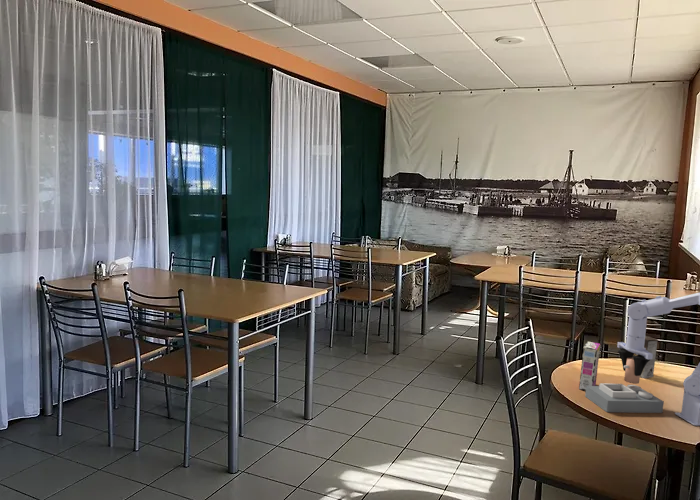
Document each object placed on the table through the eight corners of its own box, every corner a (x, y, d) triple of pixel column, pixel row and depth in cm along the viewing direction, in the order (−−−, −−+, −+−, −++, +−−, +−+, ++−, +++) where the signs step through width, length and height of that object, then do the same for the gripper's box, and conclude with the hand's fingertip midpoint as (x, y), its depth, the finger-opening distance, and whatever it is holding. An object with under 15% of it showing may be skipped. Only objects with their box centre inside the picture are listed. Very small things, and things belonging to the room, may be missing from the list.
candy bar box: (593, 392, 202) (597, 349, 200) (578, 389, 204) (582, 347, 203) (596, 384, 211) (600, 343, 210) (582, 381, 214) (586, 340, 212)
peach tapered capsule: (642, 383, 193) (645, 361, 192) (627, 384, 191) (630, 362, 190) (631, 378, 198) (634, 357, 197) (616, 379, 196) (619, 357, 195)
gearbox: (662, 412, 185) (664, 395, 185) (606, 412, 184) (608, 394, 183) (637, 397, 199) (639, 381, 199) (585, 396, 197) (586, 380, 197)
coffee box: (623, 371, 229) (627, 334, 228) (634, 370, 232) (638, 333, 230) (643, 378, 221) (647, 339, 219) (654, 377, 224) (658, 338, 222)
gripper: (661, 341, 187) (657, 379, 188) (630, 330, 201) (626, 366, 202) (644, 341, 185) (640, 380, 187) (614, 330, 199) (610, 366, 201)
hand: (632, 372), depth 194 cm, fingers closed on peach tapered capsule, 5 cm apart
